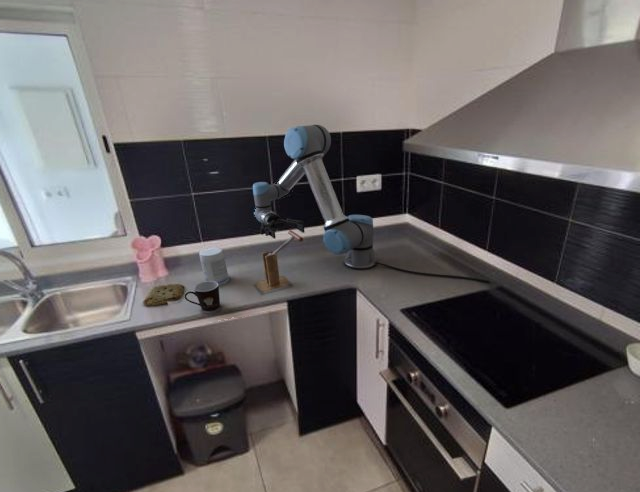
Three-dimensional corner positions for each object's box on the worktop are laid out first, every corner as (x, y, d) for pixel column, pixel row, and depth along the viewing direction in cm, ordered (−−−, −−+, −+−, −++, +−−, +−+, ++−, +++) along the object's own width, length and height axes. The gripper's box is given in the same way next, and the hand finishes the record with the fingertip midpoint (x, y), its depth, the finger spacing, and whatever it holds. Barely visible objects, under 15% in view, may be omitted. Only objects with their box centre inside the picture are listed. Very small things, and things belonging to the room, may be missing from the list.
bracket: (283, 278, 169) (279, 246, 162) (292, 286, 161) (288, 254, 154) (254, 285, 163) (249, 252, 156) (262, 294, 155) (257, 260, 148)
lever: (293, 232, 163) (290, 228, 161) (304, 240, 155) (301, 235, 153) (264, 257, 160) (260, 253, 159) (273, 266, 152) (270, 262, 151)
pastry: (172, 283, 165) (170, 277, 163) (197, 294, 156) (195, 287, 154) (133, 299, 152) (130, 293, 151) (157, 312, 143) (155, 305, 142)
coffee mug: (226, 304, 148) (222, 281, 143) (217, 315, 141) (212, 292, 136) (198, 303, 149) (192, 280, 144) (187, 314, 142) (181, 290, 137)
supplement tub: (231, 277, 169) (225, 246, 162) (226, 287, 161) (219, 255, 154) (209, 278, 169) (203, 247, 162) (203, 288, 161) (195, 255, 154)
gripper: (296, 223, 188) (315, 235, 172) (246, 232, 177) (262, 246, 161) (294, 208, 184) (314, 219, 169) (244, 216, 173) (260, 229, 157)
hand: (289, 232), depth 165 cm, fingers open, 13 cm apart
